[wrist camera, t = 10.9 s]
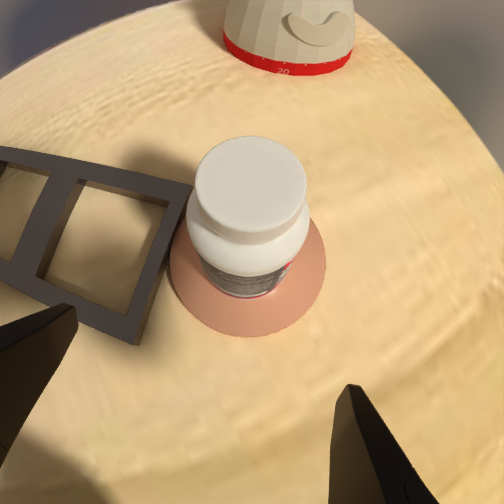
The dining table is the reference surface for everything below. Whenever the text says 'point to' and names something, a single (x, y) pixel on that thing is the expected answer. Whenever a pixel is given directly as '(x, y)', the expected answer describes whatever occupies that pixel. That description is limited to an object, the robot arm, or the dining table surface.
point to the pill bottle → (248, 215)
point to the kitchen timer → (291, 34)
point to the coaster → (248, 311)
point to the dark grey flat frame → (54, 221)
